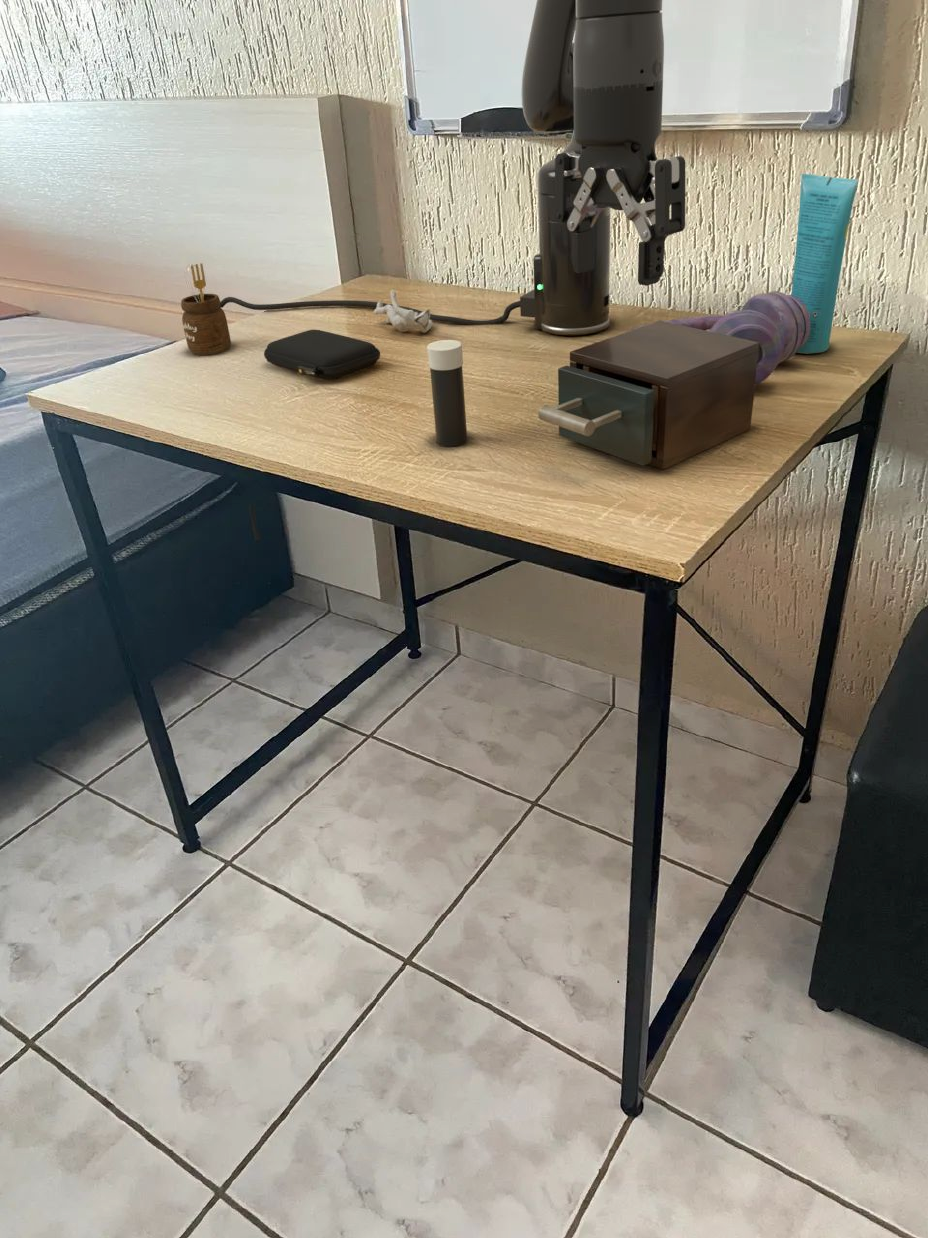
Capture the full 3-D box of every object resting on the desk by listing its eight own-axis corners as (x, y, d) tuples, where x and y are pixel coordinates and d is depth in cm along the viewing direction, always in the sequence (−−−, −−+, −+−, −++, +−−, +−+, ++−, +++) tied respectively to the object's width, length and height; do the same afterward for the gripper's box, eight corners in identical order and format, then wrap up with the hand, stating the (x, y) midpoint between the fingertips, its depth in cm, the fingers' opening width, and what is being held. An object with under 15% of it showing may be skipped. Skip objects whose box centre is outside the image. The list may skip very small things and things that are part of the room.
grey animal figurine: (410, 324, 139) (457, 311, 129) (398, 353, 138) (443, 342, 128) (369, 293, 134) (414, 277, 125) (356, 322, 134) (400, 309, 124)
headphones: (822, 350, 111) (666, 356, 123) (820, 278, 108) (660, 291, 119) (766, 400, 99) (599, 401, 111) (762, 321, 95) (590, 330, 107)
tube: (845, 349, 113) (871, 175, 103) (821, 359, 111) (846, 182, 100) (791, 338, 118) (811, 170, 108) (768, 347, 116) (786, 177, 105)
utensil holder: (226, 340, 135) (208, 252, 128) (237, 351, 130) (219, 260, 123) (185, 348, 133) (164, 259, 126) (194, 359, 128) (173, 267, 121)
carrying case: (252, 367, 123) (322, 389, 114) (248, 344, 121) (318, 364, 112) (317, 346, 129) (388, 365, 120) (313, 324, 127) (385, 341, 118)
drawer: (604, 483, 84) (605, 409, 81) (521, 450, 92) (518, 381, 88) (725, 428, 93) (731, 359, 89) (639, 402, 100) (642, 338, 97)
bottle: (429, 444, 97) (420, 348, 92) (446, 432, 100) (438, 338, 94) (457, 449, 96) (450, 351, 90) (474, 437, 98) (468, 341, 93)
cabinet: (663, 469, 88) (668, 378, 83) (570, 436, 96) (569, 351, 92) (750, 429, 95) (759, 342, 90) (656, 401, 103) (660, 320, 98)
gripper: (529, 84, 83) (535, 275, 91) (648, 81, 73) (643, 296, 81) (592, 76, 86) (592, 261, 95) (713, 72, 77) (701, 279, 85)
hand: (615, 277), depth 88 cm, fingers open, 8 cm apart
